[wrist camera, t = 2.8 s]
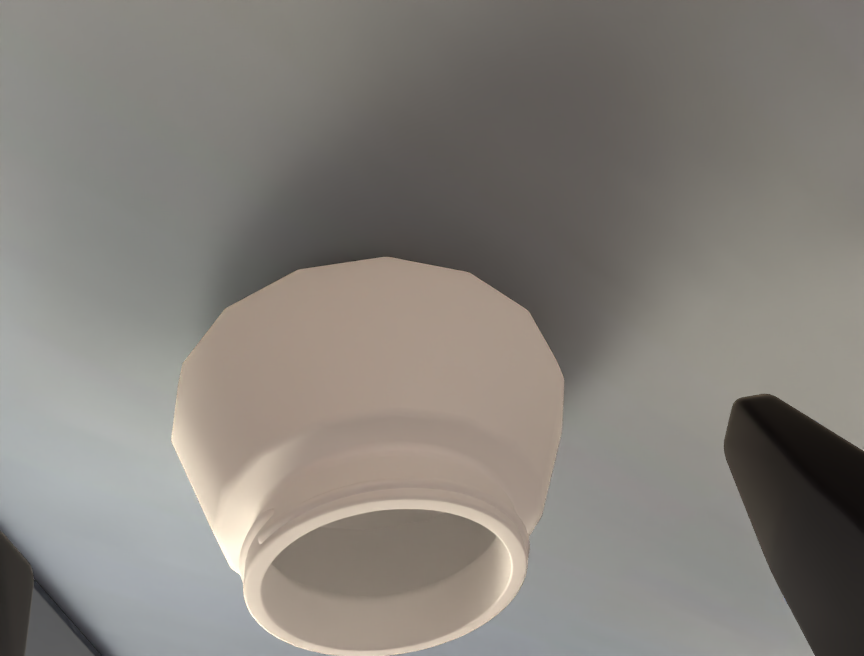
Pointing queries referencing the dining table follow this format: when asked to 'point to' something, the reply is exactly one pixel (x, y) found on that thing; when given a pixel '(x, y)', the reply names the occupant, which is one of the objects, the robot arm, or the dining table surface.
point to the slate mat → (53, 630)
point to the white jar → (372, 451)
